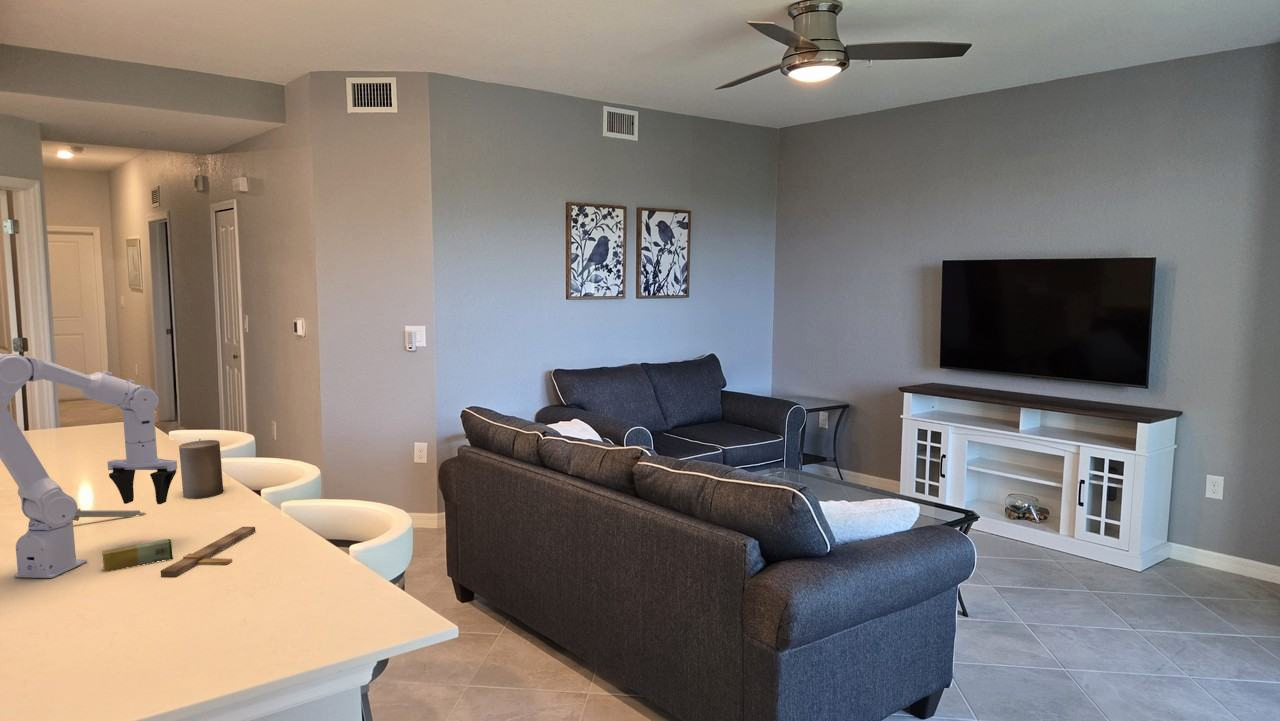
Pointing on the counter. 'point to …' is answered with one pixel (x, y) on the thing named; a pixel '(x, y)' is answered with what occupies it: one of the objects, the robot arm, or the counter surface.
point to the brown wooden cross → (207, 553)
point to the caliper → (106, 513)
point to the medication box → (137, 555)
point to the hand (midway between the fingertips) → (145, 502)
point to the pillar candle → (201, 468)
